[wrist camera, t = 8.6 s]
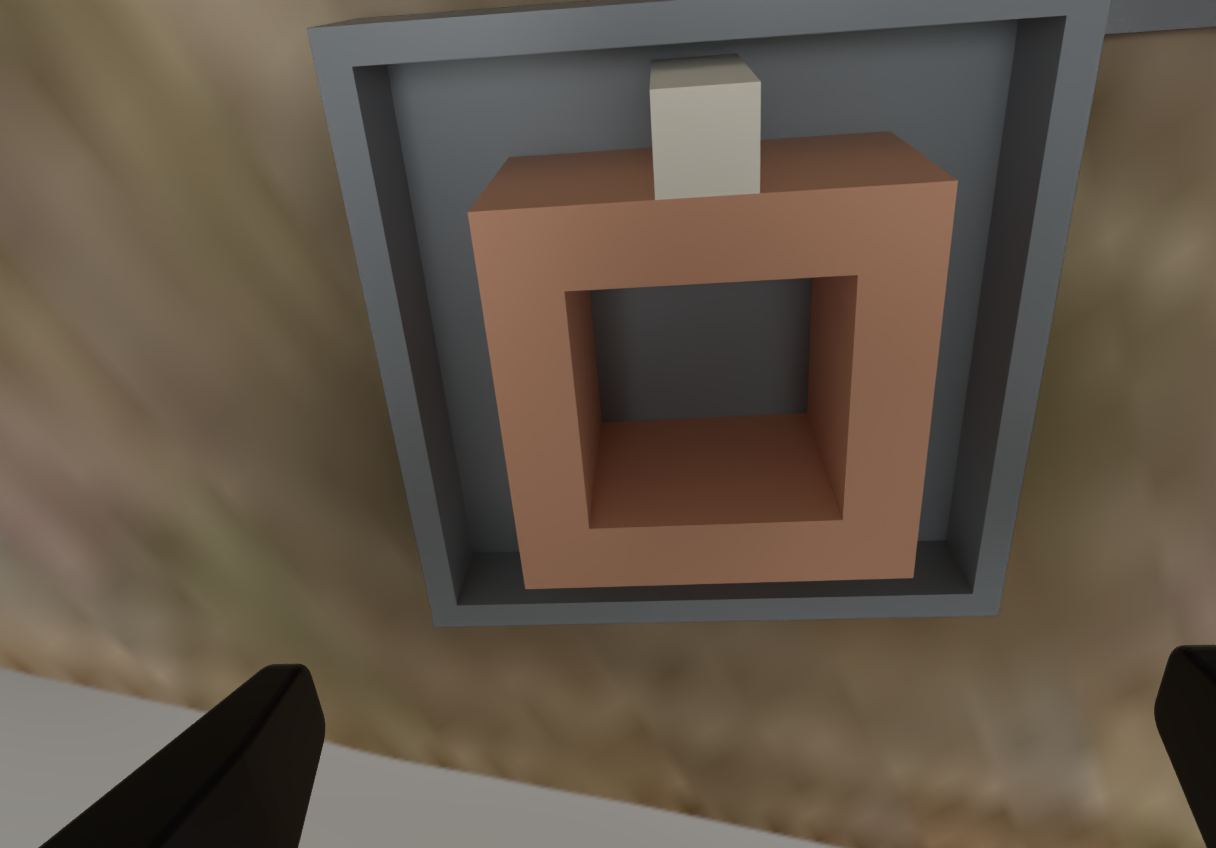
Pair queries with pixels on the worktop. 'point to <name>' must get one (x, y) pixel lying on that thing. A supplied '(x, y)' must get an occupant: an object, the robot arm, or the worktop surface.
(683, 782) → the worktop surface
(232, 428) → the worktop surface
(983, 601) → the tray
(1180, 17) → the grey lid with knob
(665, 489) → the brown square frame
